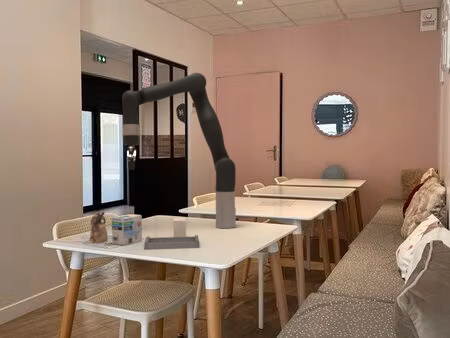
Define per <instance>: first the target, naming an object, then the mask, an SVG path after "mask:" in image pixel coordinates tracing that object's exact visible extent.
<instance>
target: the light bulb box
mask: <svg viewBox="0 0 450 338" xmlns="http://www.w3.org/2000/svg"><path fill="white" fill-rule="evenodd" d="M142 217H143V216H142V215H141V214H133V213H129V214H128V213H127V214H124V215H118V216H112V217H111V239H112V241H111V242H112V245H113V244H114V245H119V246H127V245H128V246H129V245H131V244H135V243H139V242H140V243H141V242H142V241H143V230H142V229H143V228H142V227H143V222H142V221H143V218H142Z"/></svg>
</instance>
